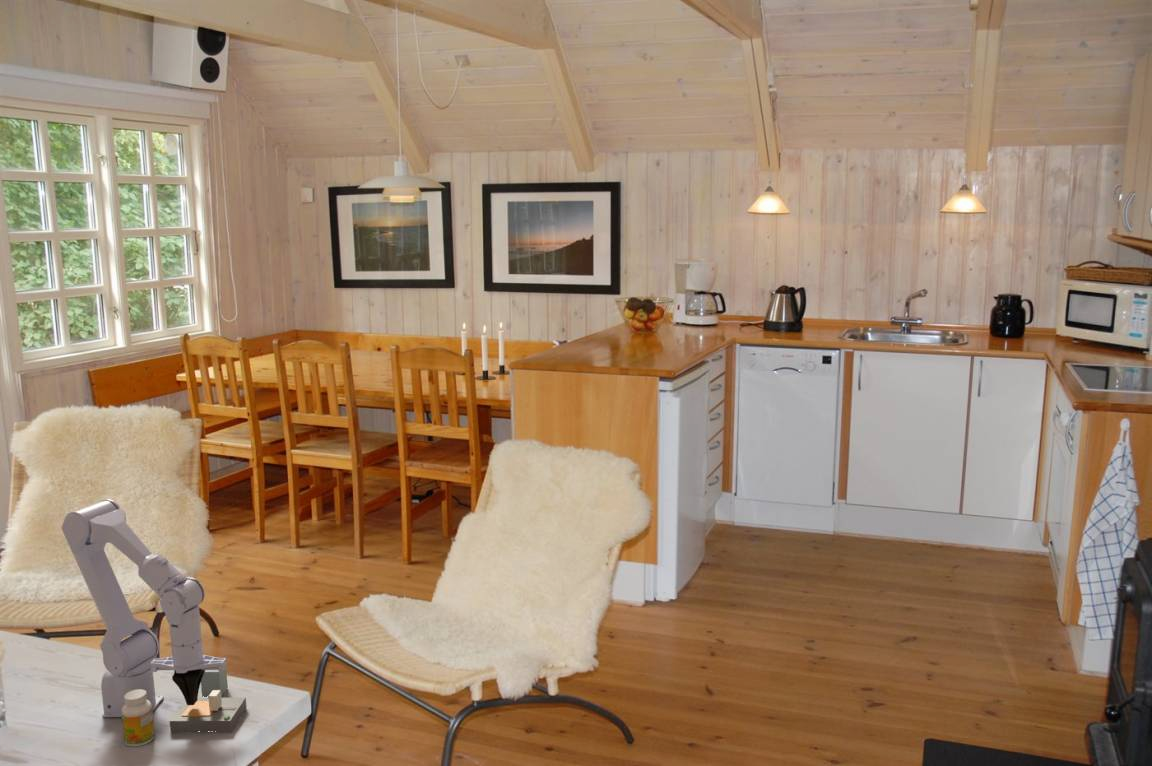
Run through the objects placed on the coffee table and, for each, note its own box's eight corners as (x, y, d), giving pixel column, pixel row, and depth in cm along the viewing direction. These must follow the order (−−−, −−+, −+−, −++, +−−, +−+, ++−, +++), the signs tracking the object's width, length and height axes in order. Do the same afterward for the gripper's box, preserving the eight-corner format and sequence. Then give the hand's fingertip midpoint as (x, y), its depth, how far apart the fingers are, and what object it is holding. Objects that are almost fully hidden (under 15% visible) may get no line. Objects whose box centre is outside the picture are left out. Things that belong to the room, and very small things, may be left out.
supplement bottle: (118, 743, 186) (113, 697, 184) (142, 729, 191) (137, 684, 189) (137, 750, 184) (132, 703, 182) (160, 736, 188) (156, 691, 187)
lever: (209, 710, 192) (208, 696, 192) (214, 704, 195) (212, 690, 194) (217, 710, 192) (216, 696, 192) (221, 704, 195) (220, 690, 194)
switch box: (170, 732, 190) (169, 719, 189) (188, 708, 199) (187, 696, 198) (230, 732, 190) (229, 719, 189) (246, 708, 199) (245, 696, 198)
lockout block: (202, 698, 203) (199, 672, 202) (209, 688, 207) (207, 663, 206) (221, 698, 203) (218, 671, 202) (227, 688, 207) (225, 662, 206)
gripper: (141, 649, 187) (147, 713, 190) (215, 649, 187) (220, 712, 189) (157, 633, 194) (163, 695, 196) (228, 633, 194) (233, 694, 196)
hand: (192, 702), depth 193 cm, fingers closed
